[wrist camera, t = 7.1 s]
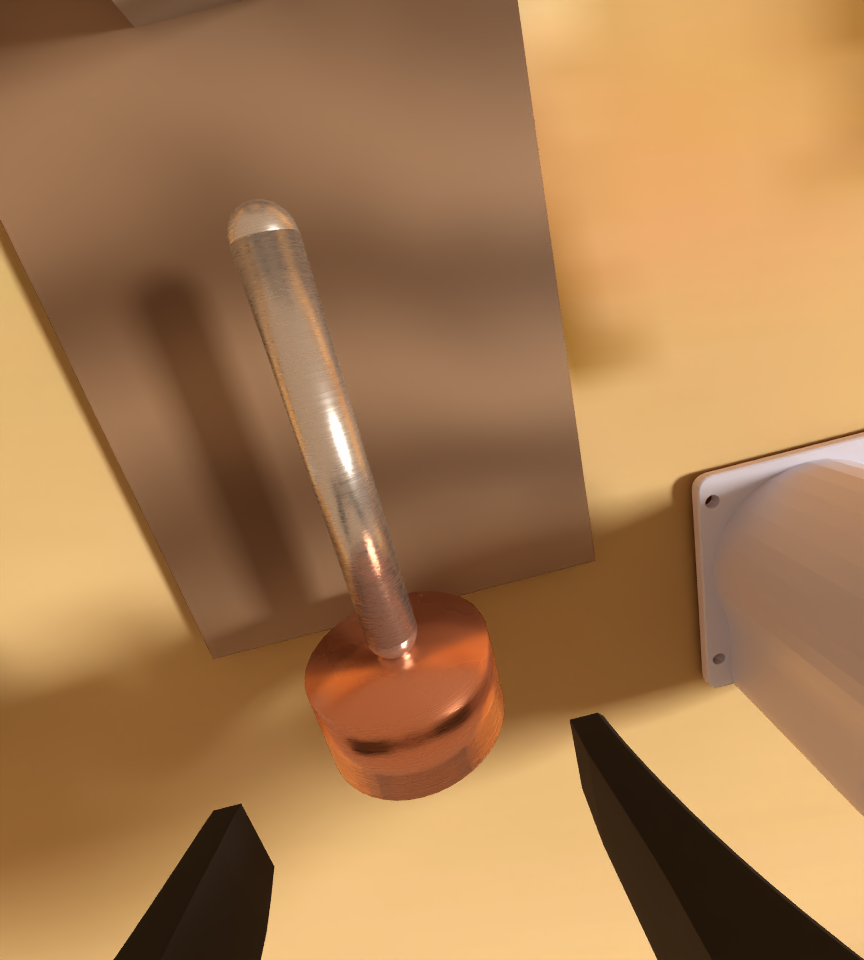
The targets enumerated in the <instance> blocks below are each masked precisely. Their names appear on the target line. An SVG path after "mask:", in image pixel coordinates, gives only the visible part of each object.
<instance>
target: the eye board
mask: <svg viewBox="0 0 864 960" xmlns="http://www.w3.org/2000/svg"><path fill="white" fill-rule="evenodd" d="M253 199H265V200H268V201H272V202H274V203H276V204H278V205H280V206H281V207H282V208H284V209H285V210H286V211H287V212H288V213H289V214H290V215H291V216H292V218H293V219H294V221H295V222H296V224H297V227H298V229H299V232H300V234H301V238H302V241H303V244H304V248H305V251H306V254H307V258H308V261H309V264H310V268H311V271H312V275H313V278H314V281H315V285H316V288H317V291H318V295H319V298H320V301H321V305H322V308H323V311H324V315H325V318H326V322H327V325H328V328H329V332H330V335H331V338H332V342H333V345H334V348H335V352H336V355H337V358H338V362H339V365H340V369H341V372H342V375H343V379H344V382H345V385H346V389H347V392H348V395H349V399H350V402H351V405H352V409H353V412H354V416H355V419H356V422H357V426H358V429H359V432H360V436H361V439H362V442H363V446H364V449H365V452H366V456H367V459H368V463H369V466H370V469H371V473H372V476H373V479H374V483H375V486H376V489H377V493H378V496H379V499H380V503H381V506H382V510H383V513H384V516H385V520H386V523H387V526H388V530H389V533H390V536H391V540H392V543H393V546H394V550H395V553H396V557H397V560H398V563H399V567H400V570H401V573H402V577H403V580H404V583H405V587H406V590H407V593H411V592H421V591H435V592H443V593H448V594H452V595H455V596H460V595H463V594H467V593H471V592H475V591H479V590H483V589H487V588H491V587H495V586H498V585H502V584H506V583H510V582H514V581H518V580H522V579H526V578H529V577H533V576H537V575H541V574H545V573H549V572H553V571H557V570H561V569H564V568H568V567H572V566H576V565H580V564H584V563H588V562H592V561H595V555H594V548H593V541H592V534H591V527H590V519H589V512H588V505H587V498H586V491H585V483H584V476H583V469H582V462H581V455H580V447H579V440H578V433H577V426H576V419H575V411H574V404H573V397H572V390H571V382H570V375H569V368H568V361H567V354H566V346H565V339H564V332H563V325H562V318H561V310H560V303H559V296H558V289H557V282H556V274H555V267H554V260H553V253H552V246H551V238H550V231H549V224H548V217H547V210H546V202H545V195H544V188H543V181H542V174H541V166H540V159H539V152H538V145H537V138H536V130H535V123H534V116H533V109H532V102H531V94H530V87H529V80H528V73H527V66H526V58H525V51H524V44H523V37H522V29H521V22H520V15H519V8H518V1H517V0H0V220H1V222H2V224H3V226H4V228H5V230H6V232H7V234H8V236H9V238H10V240H11V242H12V244H13V246H14V249H15V251H16V253H17V255H18V257H19V259H20V261H21V263H22V265H23V267H24V269H25V271H26V273H27V275H28V277H29V279H30V282H31V284H32V286H33V288H34V290H35V292H36V294H37V296H38V298H39V300H40V302H41V304H42V306H43V308H44V310H45V312H46V315H47V317H48V319H49V321H50V323H51V325H52V327H53V329H54V331H55V333H56V335H57V337H58V339H59V341H60V343H61V345H62V348H63V350H64V352H65V354H66V356H67V358H68V360H69V362H70V364H71V366H72V368H73V370H74V372H75V374H76V376H77V378H78V381H79V383H80V385H81V387H82V389H83V391H84V393H85V395H86V397H87V399H88V401H89V403H90V405H91V407H92V409H93V412H94V414H95V416H96V418H97V420H98V422H99V424H100V426H101V428H102V430H103V432H104V434H105V436H106V438H107V440H108V442H109V445H110V447H111V449H112V451H113V453H114V455H115V457H116V459H117V461H118V463H119V465H120V467H121V469H122V471H123V473H124V475H125V478H126V480H127V482H128V484H129V486H130V488H131V490H132V492H133V494H134V496H135V498H136V500H137V502H138V504H139V506H140V508H141V511H142V513H143V515H144V517H145V519H146V521H147V523H148V525H149V527H150V529H151V531H152V533H153V535H154V537H155V539H156V542H157V544H158V546H159V548H160V550H161V552H162V554H163V556H164V558H165V560H166V562H167V564H168V566H169V568H170V570H171V572H172V575H173V577H174V579H175V581H176V583H177V585H178V587H179V589H180V591H181V593H182V595H183V597H184V599H185V601H186V603H187V605H188V608H189V610H190V612H191V614H192V616H193V618H194V620H195V622H196V624H197V626H198V628H199V630H200V632H201V634H202V636H203V638H204V641H205V643H206V645H207V647H208V649H209V651H210V653H211V655H212V657H213V659H215V658H219V657H223V656H227V655H231V654H234V653H238V652H242V651H246V650H250V649H254V648H258V647H262V646H265V645H269V644H273V643H277V642H281V641H285V640H289V639H293V638H297V637H300V636H304V635H308V634H312V633H316V632H320V631H324V630H328V629H331V628H334V627H335V626H336V625H337V624H339V623H340V622H341V621H343V620H344V619H345V618H347V617H348V616H350V615H351V614H353V613H355V612H356V611H355V608H354V605H353V602H352V600H351V597H350V594H349V591H348V588H347V585H346V582H345V579H344V576H343V574H342V571H341V568H340V565H339V562H338V559H337V556H336V553H335V550H334V547H333V545H332V542H331V539H330V536H329V533H328V530H327V527H326V524H325V521H324V519H323V516H322V513H321V510H320V507H319V504H318V501H317V498H316V495H315V493H314V490H313V487H312V484H311V481H310V478H309V475H308V472H307V469H306V467H305V464H304V461H303V458H302V455H301V452H300V449H299V446H298V443H297V441H296V438H295V435H294V432H293V429H292V426H291V423H290V420H289V417H288V415H287V412H286V409H285V406H284V403H283V400H282V397H281V394H280V391H279V388H278V386H277V383H276V380H275V377H274V374H273V371H272V368H271V365H270V362H269V360H268V357H267V354H266V351H265V348H264V345H263V342H262V339H261V336H260V334H259V331H258V328H257V325H256V322H255V319H254V316H253V313H252V310H251V308H250V305H249V302H248V299H247V296H246V293H245V290H244V287H243V284H242V282H241V279H240V276H239V273H238V270H237V267H236V264H235V261H234V258H233V256H232V253H231V250H230V247H229V242H228V237H227V227H228V222H229V219H230V217H231V215H232V213H233V212H234V210H235V209H236V208H237V207H238V206H239V205H241V204H242V203H244V202H246V201H249V200H253Z"/></svg>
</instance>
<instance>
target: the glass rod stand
mask: <svg viewBox="0 0 864 960" xmlns="http://www.w3.org/2000/svg"><path fill="white" fill-rule="evenodd" d="M227 237H228V242H229V247H230V250H231V253H232V256H233V258H234V261H235V264H236V267H237V270H238V273H239V276H240V279H241V282H242V284H243V287H244V290H245V293H246V296H247V299H248V302H249V305H250V308H251V310H252V313H253V316H254V319H255V322H256V325H257V328H258V331H259V334H260V336H261V339H262V342H263V345H264V348H265V351H266V354H267V357H268V360H269V362H270V365H271V368H272V371H273V374H274V377H275V380H276V383H277V386H278V388H279V391H280V394H281V397H282V400H283V403H284V406H285V409H286V412H287V415H288V417H289V420H290V423H291V426H292V429H293V432H294V435H295V438H296V441H297V443H298V446H299V449H300V452H301V455H302V458H303V461H304V464H305V467H306V469H307V472H308V475H309V478H310V481H311V484H312V487H313V490H314V493H315V495H316V498H317V501H318V504H319V507H320V510H321V513H322V516H323V519H324V521H325V524H326V527H327V530H328V533H329V536H330V539H331V542H332V545H333V547H334V550H335V553H336V556H337V559H338V562H339V565H340V568H341V571H342V574H343V576H344V579H345V582H346V585H347V588H348V591H349V594H350V597H351V600H352V602H353V605H354V608H355V611H356V612H355V613H353V614H351V615H350V616H348V617H347V618H345V619H344V620H343V621H341V622H340V623H339V624H337V625H336V626H335V627H334V628H333V629H332V630H331V631H330V632H329V633H328V634H327V635H326V636H325V637H324V638H323V639H322V640H321V642H320V643H319V644H318V646H317V647H316V649H315V650H314V652H313V653H312V655H311V657H310V659H309V662H308V665H307V668H306V672H305V689H306V693H307V696H308V698H309V701H310V703H311V706H312V708H313V710H314V713H315V715H316V718H317V720H318V722H319V725H320V727H321V730H322V732H323V734H324V737H325V739H326V742H327V744H328V746H329V749H330V751H331V754H332V756H333V758H334V761H335V763H336V765H337V768H338V770H339V772H340V773H341V775H342V776H343V777H344V779H345V780H346V781H347V782H348V783H349V784H350V785H351V786H353V787H354V788H356V789H357V790H359V791H360V792H362V793H364V794H367V795H369V796H371V797H375V798H379V799H384V800H396V801H398V800H411V799H416V798H422V797H425V796H428V795H431V794H435V793H437V792H440V791H442V790H444V789H446V788H448V787H450V786H452V785H453V784H455V783H457V782H458V781H460V780H461V779H463V778H464V777H465V776H467V775H468V774H469V773H470V772H472V771H473V770H474V769H475V768H476V767H477V766H478V765H479V764H480V763H481V762H482V761H483V759H484V758H485V757H486V756H487V754H488V753H489V752H490V750H491V748H492V747H493V745H494V743H495V742H496V740H497V737H498V735H499V733H500V730H501V727H502V723H503V718H504V698H503V694H502V689H501V685H500V681H499V677H498V673H497V669H496V664H495V660H494V656H493V652H492V648H491V643H490V639H489V635H488V631H487V627H486V623H485V620H484V618H483V616H482V615H481V613H480V612H479V610H478V609H477V608H476V607H475V606H474V605H473V604H471V603H470V602H468V601H467V600H465V599H463V598H461V597H458V596H455V595H452V594H448V593H443V592H435V591H421V592H411V593H407V590H406V587H405V583H404V580H403V577H402V573H401V570H400V567H399V563H398V560H397V557H396V553H395V550H394V546H393V543H392V540H391V536H390V533H389V530H388V526H387V523H386V520H385V516H384V513H383V510H382V506H381V503H380V499H379V496H378V493H377V489H376V486H375V483H374V479H373V476H372V473H371V469H370V466H369V463H368V459H367V456H366V452H365V449H364V446H363V442H362V439H361V436H360V432H359V429H358V426H357V422H356V419H355V416H354V412H353V409H352V405H351V402H350V399H349V395H348V392H347V389H346V385H345V382H344V379H343V375H342V372H341V369H340V365H339V362H338V358H337V355H336V352H335V348H334V345H333V342H332V338H331V335H330V332H329V328H328V325H327V322H326V318H325V315H324V311H323V308H322V305H321V301H320V298H319V295H318V291H317V288H316V285H315V281H314V278H313V275H312V271H311V268H310V264H309V261H308V258H307V254H306V251H305V248H304V244H303V241H302V238H301V234H300V232H299V229H298V227H297V224H296V222H295V221H294V219H293V218H292V216H291V215H290V214H289V213H288V212H287V211H286V210H285V209H284V208H282V207H281V206H280V205H278V204H276V203H274V202H272V201H268V200H265V199H253V200H249V201H246V202H244V203H242V204H241V205H239V206H238V207H237V208H236V209H235V210H234V212H233V213H232V215H231V217H230V219H229V222H228V227H227Z"/></svg>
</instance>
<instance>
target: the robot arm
mask: <svg viewBox="0 0 864 960" xmlns="http://www.w3.org/2000/svg"><path fill="white" fill-rule="evenodd" d="M711 495H712V499H711V501H710V502H709V503H708V504H706V505H705V501H706V499H707V498H708V497H709V496H711ZM692 501H693V518H694V535H695V553H696V570H697V587H698V605H699V622H700V639H701V657H702V674H703V678H704V680H705V681H706V682H707V683H708V684H709V685H710V686H712V687H721V686H725V685H729V684H733V683H734V684H735V685H736V686H737V687H738V688H739V689H740V690H741V691H742V692H743V693H744V694H745V695H746V696H747V697H748V698H749V699H750V700H751V701H752V703H753V704H754V705H755V706H756V707H757V708H758V709H759V710H760V711H761V712H762V713H763V714H764V715H765V716H766V717H767V718H768V719H769V720H770V721H771V722H772V723H773V724H774V725H775V726H776V727H777V728H778V729H779V730H780V731H781V732H782V733H783V734H784V736H785V737H786V738H787V739H788V740H789V741H790V742H791V743H792V744H793V745H794V746H795V747H796V748H797V749H798V750H799V751H800V752H801V753H802V754H803V755H804V756H805V757H806V758H807V759H808V760H809V761H810V762H811V763H812V764H813V765H814V766H815V767H816V768H817V770H818V771H819V772H820V773H821V774H822V775H823V776H824V777H825V778H826V779H827V780H828V781H829V782H830V783H831V784H832V785H833V786H834V787H835V788H836V789H837V790H838V791H839V792H840V793H841V794H842V795H843V796H844V797H845V798H846V799H847V800H848V801H849V803H850V804H851V805H852V806H853V807H854V808H855V809H856V810H857V811H858V812H860V813H861V814H862V815H863V816H864V432H862V433H858V434H854V435H850V436H846V437H843V438H839V439H835V440H831V441H827V442H823V443H819V444H815V445H811V446H807V447H804V448H800V449H796V450H792V451H788V452H784V453H780V454H776V455H772V456H769V457H765V458H761V459H757V460H753V461H749V462H745V463H741V464H737V465H733V466H730V467H726V468H722V469H718V470H714V471H710V472H706V473H703V474H701V475H699V476H698V477H697V478H696V479H695V481H694V482H693V485H692ZM715 655H716V656H715ZM714 656H715V657H714ZM570 724H571V729H572V735H573V740H574V746H575V751H576V757H577V762H578V768H579V773H580V779H581V784H582V789H583V791H584V794H585V797H586V800H587V802H588V805H589V808H590V810H591V813H592V816H593V819H594V821H595V824H596V826H597V829H598V832H599V834H600V837H601V840H602V842H603V845H604V847H605V849H606V851H607V853H608V856H609V858H610V860H611V862H612V864H613V866H614V868H615V871H616V873H617V875H618V877H619V879H620V881H621V883H622V885H623V888H624V890H625V892H626V894H627V896H628V898H629V900H630V902H631V905H632V907H633V909H634V911H635V913H636V915H637V917H638V919H639V922H640V924H641V926H642V928H643V930H644V932H645V934H646V936H647V938H648V941H649V943H650V945H651V947H652V949H653V951H654V953H655V955H656V958H657V960H864V959H863V958H861V957H860V956H859V955H857V954H856V953H855V952H854V951H852V950H851V949H850V948H849V947H847V946H846V945H845V944H844V943H842V942H841V941H840V940H839V939H837V938H836V937H835V936H834V935H832V934H831V933H830V932H829V931H827V930H826V929H825V928H824V927H822V926H821V925H820V924H819V923H817V922H816V921H815V920H814V919H812V918H811V917H810V916H809V915H807V914H806V913H805V912H804V911H802V910H801V909H800V908H799V907H798V906H796V905H795V904H794V903H793V902H792V901H790V900H789V899H788V898H787V897H786V896H784V895H783V894H782V893H781V892H780V891H779V890H777V889H776V888H775V887H774V886H773V885H771V884H770V883H769V882H768V881H767V880H766V879H764V878H763V877H762V876H761V875H760V874H759V873H758V872H756V871H755V870H754V869H753V868H752V867H751V866H750V865H748V864H747V863H746V862H745V861H744V860H743V859H742V858H741V857H739V856H738V855H737V854H736V853H735V852H734V851H733V850H732V849H731V848H730V847H729V846H727V845H726V844H725V843H724V842H723V841H722V840H721V839H720V838H719V837H718V836H717V835H715V834H714V833H713V832H712V831H711V830H710V829H709V828H708V827H707V826H706V825H705V824H704V823H703V822H702V821H701V820H700V819H699V818H698V817H696V816H695V815H694V814H693V813H692V812H691V811H690V810H689V809H688V808H687V807H686V806H685V805H684V804H683V803H682V802H681V801H680V800H679V799H678V798H677V797H676V796H675V795H674V794H673V793H672V792H671V791H670V790H669V789H668V788H667V787H666V786H665V785H664V784H663V783H662V782H661V781H660V780H659V779H658V777H657V776H656V775H655V774H654V773H653V772H652V771H651V770H650V769H649V768H648V767H647V766H646V765H645V764H644V763H643V761H642V760H641V759H640V758H639V757H638V756H637V755H636V754H635V753H634V752H633V751H632V749H631V748H630V747H629V746H628V745H627V744H626V743H625V742H624V740H623V739H622V738H621V737H620V736H619V735H618V733H617V732H616V731H615V730H614V729H613V727H612V726H611V725H610V724H609V722H608V721H607V720H606V719H605V717H604V716H603V715H601V714H599V713H594V714H590V715H587V716H583V717H579V718H575V719H571V720H570ZM273 874H274V865H273V863H272V861H271V859H270V857H269V856H268V854H267V852H266V850H265V848H264V846H263V844H262V842H261V840H260V838H259V837H258V835H257V833H256V831H255V829H254V827H253V825H252V823H251V821H250V819H249V818H248V816H247V814H246V812H245V810H244V808H243V806H242V804H238V805H234V806H230V807H226V808H222V809H218V810H214V811H213V812H212V814H211V815H210V817H209V818H208V819H207V821H206V822H205V824H204V825H203V827H202V828H201V830H200V831H199V833H198V834H197V836H196V837H195V839H194V841H193V842H192V844H191V845H190V847H189V848H188V850H187V851H186V853H185V854H184V856H183V857H182V859H181V860H180V862H179V863H178V865H177V866H176V868H175V869H174V871H173V872H172V874H171V875H170V877H169V878H168V880H167V882H166V883H165V885H164V886H163V888H162V889H161V891H160V892H159V894H158V895H157V897H156V898H155V900H154V901H153V903H152V904H151V906H150V907H149V909H148V910H147V912H146V913H145V914H144V916H143V917H142V919H141V920H140V922H139V923H138V925H137V926H136V928H135V929H134V931H133V932H132V934H131V935H130V937H129V938H128V940H127V941H126V943H125V944H124V946H123V947H122V948H121V950H120V951H119V953H118V954H117V956H116V957H115V958H114V960H261V956H262V951H263V947H264V942H265V937H266V932H267V925H268V917H269V910H270V902H271V893H272V884H273Z"/></svg>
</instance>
